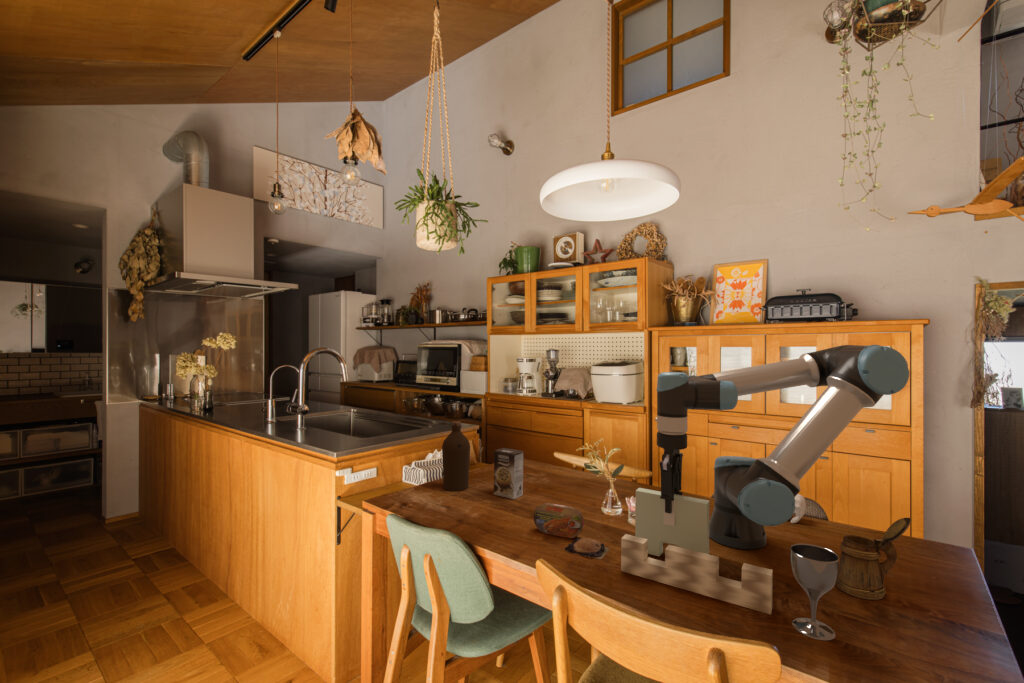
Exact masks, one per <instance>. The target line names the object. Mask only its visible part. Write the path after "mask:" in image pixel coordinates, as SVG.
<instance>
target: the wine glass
mask: <svg viewBox="0 0 1024 683" xmlns="http://www.w3.org/2000/svg"><path fill="white" fill-rule="evenodd" d="M789 549H790V550H789V551H790V552H789V553H790V554H789V555H790V564H791V570H792V574H793V576H794V579H795V580H796V581H797V583H798V584H799V585H800V587H801V588H802V589H803V591H804V592H805V593H806V595H807V597H808V599H809V605H810V614H811V615H810V616H811V617H809V618H808V617H796V618H794V619H793V620H792V622H791V624H792V627H793V628H794V629H795V631H797V632H798V633H800V634H802V635H804V636H806V637H808V638H811V639H813V640H818V641H832V640H834V639H835V638H836V633H835V631H834V630H833V629H832V627H830V626H829V625H828V624H826V623H824V622H821V621H819V620H817V616H816V615H817V608H818V602H819V600H820V598H822V596H824V595H825V594H827V593H828V592H830V591H831V590H832V589H833V588H834V587H835V586H836V585H835V583H836V580H837V576H838V570H839V564H840V558H839V555H838V554H837V553H836V552H835V551H833V550H832V549H829V548H826V547H824V546H819V545H817V544H810V543H800V542H798V543H795V544H794V543H793V544H791V546H790V548H789Z"/></svg>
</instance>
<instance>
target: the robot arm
mask: <svg viewBox="0 0 1024 683" xmlns="http://www.w3.org/2000/svg"><path fill="white" fill-rule="evenodd" d="M909 378H910V369H909V363H908V361H907V359H906V358H905V356H904V355H903V354H902V353H901V352H900V351H898V350H897V349H894V348H893V347H890V346H884V345H879V344H869V345H858V344H857V345H855V344H845V345H844V344H843V345H841V344H840V345H836V346H833V347H829V348H824V349H821V350H815V351H813V352H807V353H803V354H802V353H801V355H800V356H799V358H793V359H787V360H783V361H776V362H771V363H765V364H760V365H754V366H753V365H752V366H747V367H742V368H736V369H731V370H725V371H719V372H714V373H707V374H702V375H701V374H700V375H694V374H693V375H688V374H687V373H686V372H679V371H678V372H677V371H664V372H661V373H659V374H658V375H657V381H656V382H657V383H656V390H655V391H656V417H655V419H654V421H655V422H656V429H657V430H658V431H657V432H656V446H657V447H658V448H661V449H663V453H662V455H661V460H660V462H659V468H660V492H661V496H660V499H664V521H663V524H666V525H670V526H675V500H674V494H676V495H682V496H683V492H682V491H681V490H682V478H683V477H682V471H683V469H682V468H683V457H684V455H683V454H684V453H683V452H681V450H686V449H687V447H688V434H687V432H688V430H689V429H688V412H689V410H693V411H694V410H705V411H706V410H707V411H708V410H709V411H731V410H734V409H735V408H736V407H737V405H738V400H739V397H742V396H747V395H752V394H753V395H754V394H759V393H763V392H764V393H765V392H769V391H770V392H771V391H776V390H782V389H788V388H789V389H790V388H795V387H801V386H805V385H806V386H807V387H809V388H817V387H826V389H825V390H824V391H823V392H822V393H821V394H820V396H819V397H818V398H817V399H816V400H815V401H814V403H812V405H811V406H810V407H809V408H808V409H807V410H806V412H805V413H804V414H803V415H802V416H801V418H800V419H799V420H798V421H797V423H795V424H794V426H793V427H792V428H791V429H790V431H789V432H788V433H786V435H785V436H784V437H783V439H781V441H780V442H779V443H778V444H777V446H776V447H775V448H774V449H773V450H772V452H771V453H769V454H768V456H767V457H758V458H754V457H747V456H738V455H737V456H733V455H730V456H729V455H727V456H726V455H722V456H718V457H716V458H715V459H714V467H713V472H714V476H713V477H714V478H713V480H714V481H713V483H714V486H713V487H714V490H713V492H714V494H713V496H714V497H713V498H714V500H713V501H714V504H713V510H712V512H711V515H710V517H709V539H711V540H713V541H714V542H716V543H718V544H721V545H723V546H727V547H730V548H734V549H739V550H740V549H741V550H759V549H762V548H764V547H766V545H767V533H766V531H765V528H764V527H776V526H780V525H783V524H785V523H787V522H788V521H789V520H791V519H792V517H793V515H794V514H795V513H794V511H795V507H796V506H795V496H796V495H797V494H799V493H800V491H801V485H800V480H801V479H802V478H803V477H804V476H805V475H806V474H807V472H808V471H809V470H810V469H811V468H812V467H813V466H814V465H815V463H816V462H818V460H819V459H820V458H821V456H822V455H823V454H824V453H825V452H826V451H827V450H828V448H829V447H830V446H831V445H832V444H833V443H834V441H835V440H836V439H837V438H838V437H839V435H840V434H841V433H842V432H843V431H844V430H845V429H846V427H847V426H848V425H849V424H850V423H851V422H852V420H854V418H855V417H857V414H859V413H860V411H861V410H862V409H865V408H873V407H875V406H876V404H877V403H878V402H879V401H880V400H881V399H882V397H884V396H891V395H894V394H897V393H898V392H901V391H903V389H904V388H905V387H906V386H907V384H908V382H909ZM793 513H794V514H793ZM791 516H792V517H791Z"/></svg>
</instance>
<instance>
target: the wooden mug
mask: <svg viewBox="0 0 1024 683" xmlns="http://www.w3.org/2000/svg"><path fill="white" fill-rule="evenodd" d="M911 522H912V519H911V517H902V518H899V519H897V520H896V521H894V522H893V523H892V524H891V525H890V526H889V527H888V528H886V531H885V533H884V535H883V537H882V538H874V539H873V540H871V539H869V538H867V537H865V536H861V535H853V534H847V535H843V538H842V541H841V543H840V547H839V549H840V550H841V553H840V558H839V568H838V576H837V580H836V583H835V585H834V586H836V587H837V588H838V589H839V590H841V591H842V592H844V593H846V594H847V595H849V596H853V597H855V598H859V599H863V600H869V601H870V600H871V601H873V600H874V601H879V600H882V599H883V598H885V596H886V588H885V586H884V582H885V578H886V576H887V574H888V572H890V571H891V569H893V567H894V566H895V564H896V562H897V559H898V552H897V548H896V547H895V545H894V544H893V542H895V541H896V540H898V539H899V538H900V537H901V536H903V534H905V532H906V531H907V530H908V528H909V527H910V525H911ZM880 551H881V552H884V554H885V555H886V559H885V561H882V562H880V558H881V557H882V553H881V552H880Z"/></svg>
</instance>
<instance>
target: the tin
mask: <svg viewBox="0 0 1024 683" xmlns="http://www.w3.org/2000/svg"><path fill="white" fill-rule="evenodd" d="M533 523H534V525H535V527H536V528H537V529H538V531H540V532H541V533H543V534H546V535H550V536H556V537H561V538H565V539H566V538H567V539H575V538H578V536H579V535H580V534H581V533H582V532H583V530H584V528H585V526H584V525H585V519H584V516H583V514H582V512H581V511H580V510H579V509H578V508H576V507H574V506H569V505H563V504H556V503H550V502H545V503H543V504H540V505H538V506H537V507H536V508H535V510H534V512H533Z"/></svg>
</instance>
